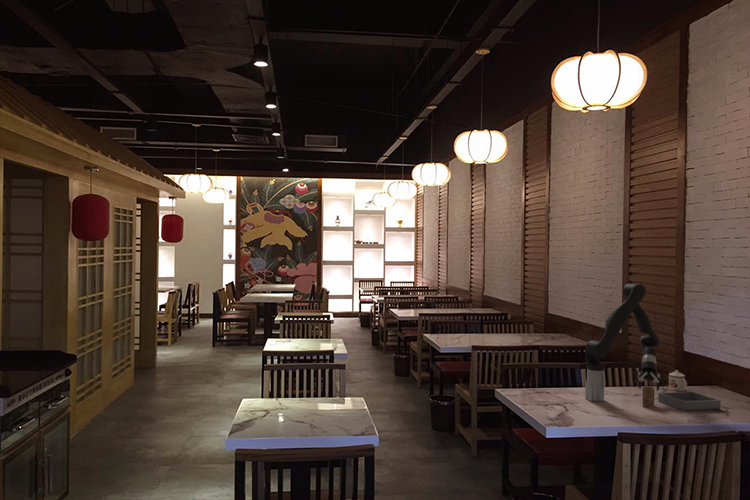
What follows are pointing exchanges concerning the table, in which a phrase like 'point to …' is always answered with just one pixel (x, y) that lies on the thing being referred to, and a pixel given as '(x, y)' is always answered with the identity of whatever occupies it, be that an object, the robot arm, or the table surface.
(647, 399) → the walnut crate
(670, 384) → the teacup with lid
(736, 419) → the table surface
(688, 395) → the grey tray
